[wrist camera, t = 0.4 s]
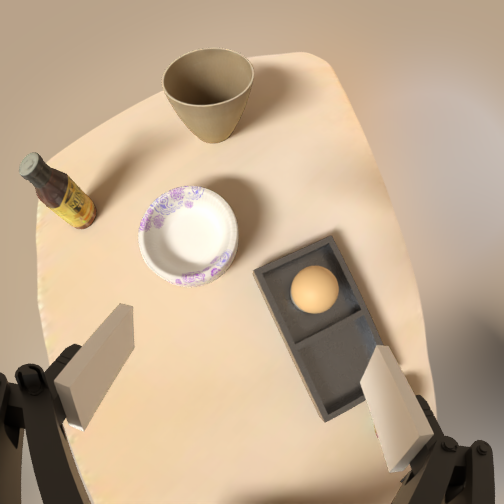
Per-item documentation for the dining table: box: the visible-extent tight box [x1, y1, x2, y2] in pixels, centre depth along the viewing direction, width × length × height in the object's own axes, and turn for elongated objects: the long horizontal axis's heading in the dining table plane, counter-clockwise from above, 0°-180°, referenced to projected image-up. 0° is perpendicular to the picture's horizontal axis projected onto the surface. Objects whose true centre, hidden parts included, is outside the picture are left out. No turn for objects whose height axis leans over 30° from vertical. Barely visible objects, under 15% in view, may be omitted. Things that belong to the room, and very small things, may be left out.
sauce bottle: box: [19, 153, 96, 229], centre depth 43 cm, size 7×6×20 cm
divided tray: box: [253, 236, 384, 422], centre depth 47 cm, size 27×14×4 cm, turn 24°
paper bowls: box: [138, 186, 239, 287], centre depth 48 cm, size 15×15×8 cm
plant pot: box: [162, 48, 254, 143], centre depth 50 cm, size 15×15×16 cm
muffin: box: [290, 266, 339, 314], centre depth 45 cm, size 7×7×8 cm
